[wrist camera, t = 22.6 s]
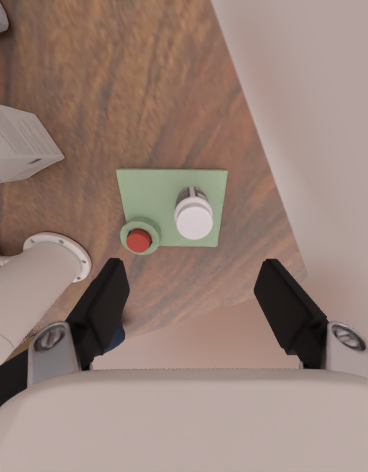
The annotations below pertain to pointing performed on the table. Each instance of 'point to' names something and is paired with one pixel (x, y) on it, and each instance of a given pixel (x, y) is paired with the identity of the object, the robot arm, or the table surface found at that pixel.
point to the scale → (167, 203)
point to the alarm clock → (3, 19)
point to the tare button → (138, 240)
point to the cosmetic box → (24, 145)
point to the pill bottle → (193, 213)
